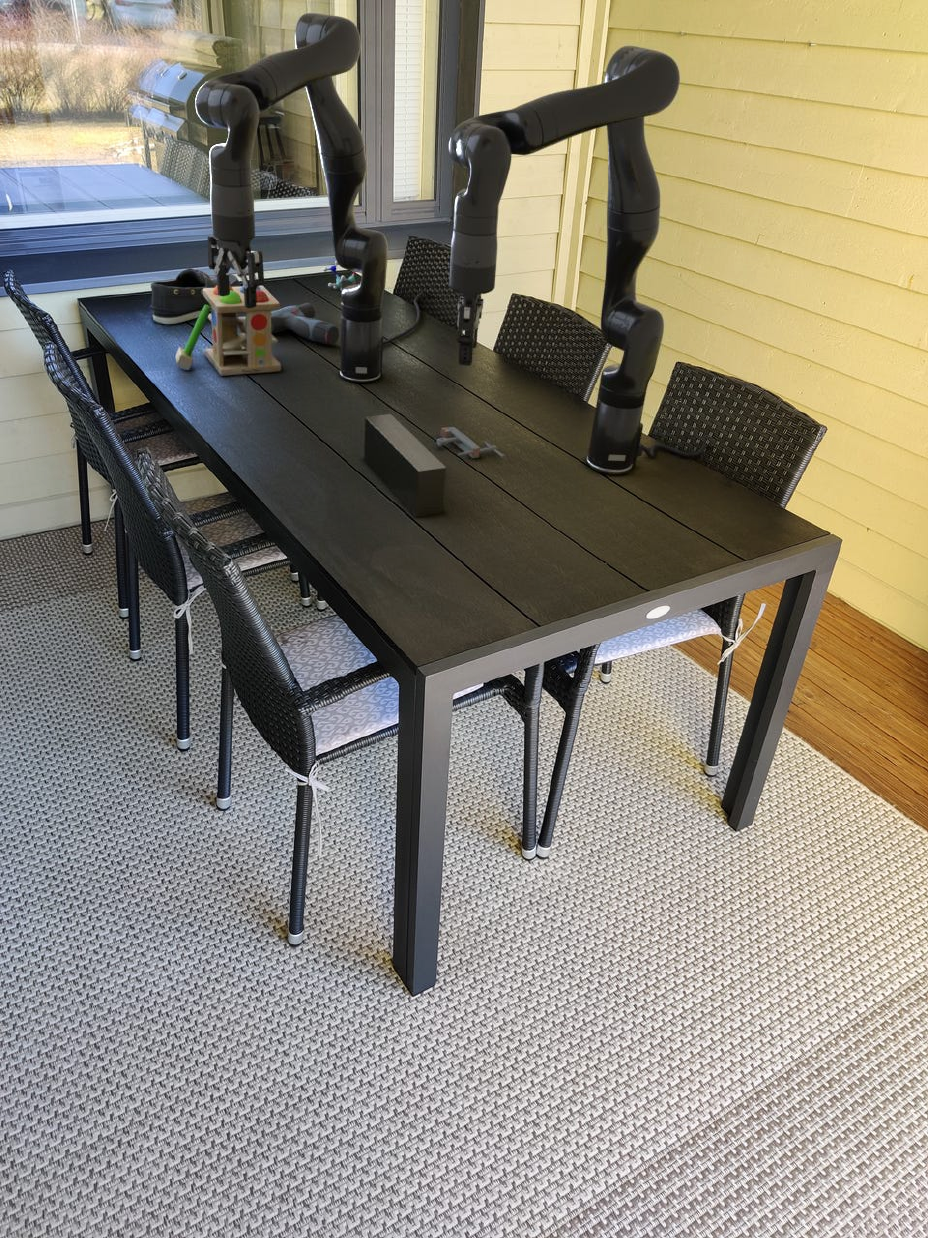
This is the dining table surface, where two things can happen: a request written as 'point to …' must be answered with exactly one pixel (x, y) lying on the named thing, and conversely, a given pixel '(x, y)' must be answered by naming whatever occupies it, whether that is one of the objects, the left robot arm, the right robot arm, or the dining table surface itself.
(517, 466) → the dining table surface
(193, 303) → the boat shoe
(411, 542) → the dining table surface
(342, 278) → the molecular model
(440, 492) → the bar
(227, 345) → the pounding bench toy
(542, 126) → the right robot arm
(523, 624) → the dining table surface
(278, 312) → the power drill
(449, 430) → the clamp
